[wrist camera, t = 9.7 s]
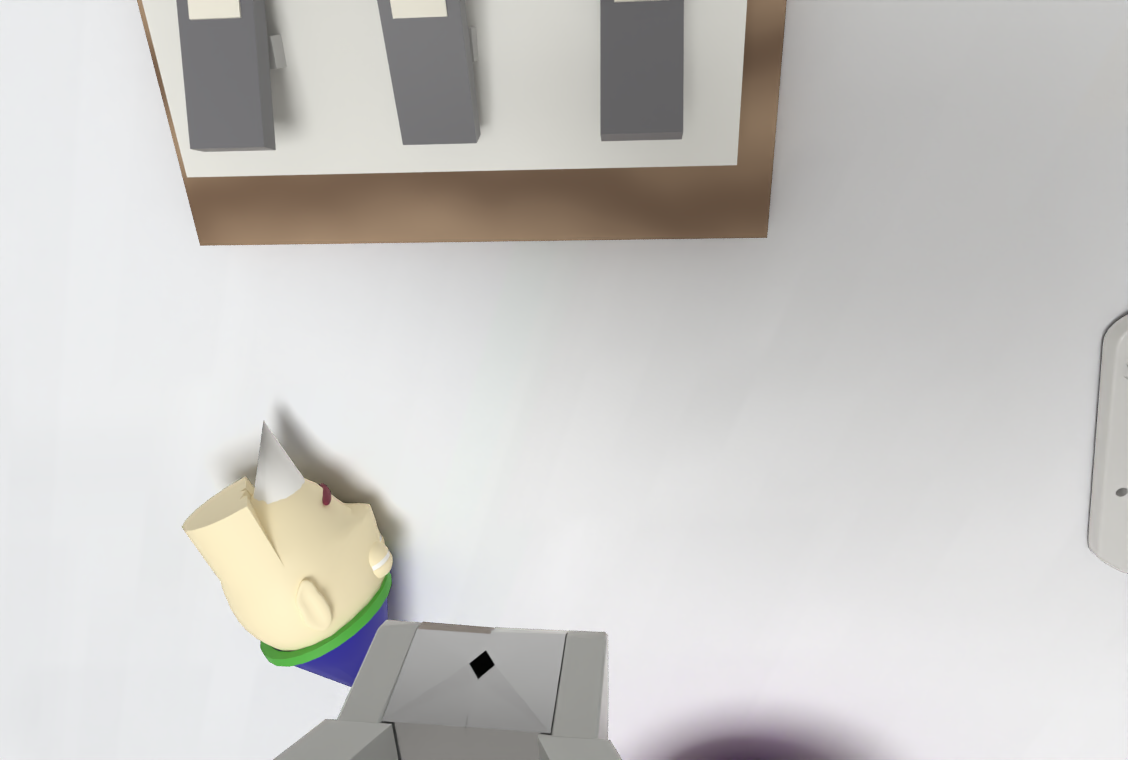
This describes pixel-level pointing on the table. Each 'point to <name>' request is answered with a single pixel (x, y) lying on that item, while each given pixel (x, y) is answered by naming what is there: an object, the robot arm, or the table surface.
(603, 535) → the table surface
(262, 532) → the cartoon head
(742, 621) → the table surface
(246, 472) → the table surface
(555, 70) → the switch housing
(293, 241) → the chart board
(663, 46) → the block
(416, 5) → the rocker
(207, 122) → the block
